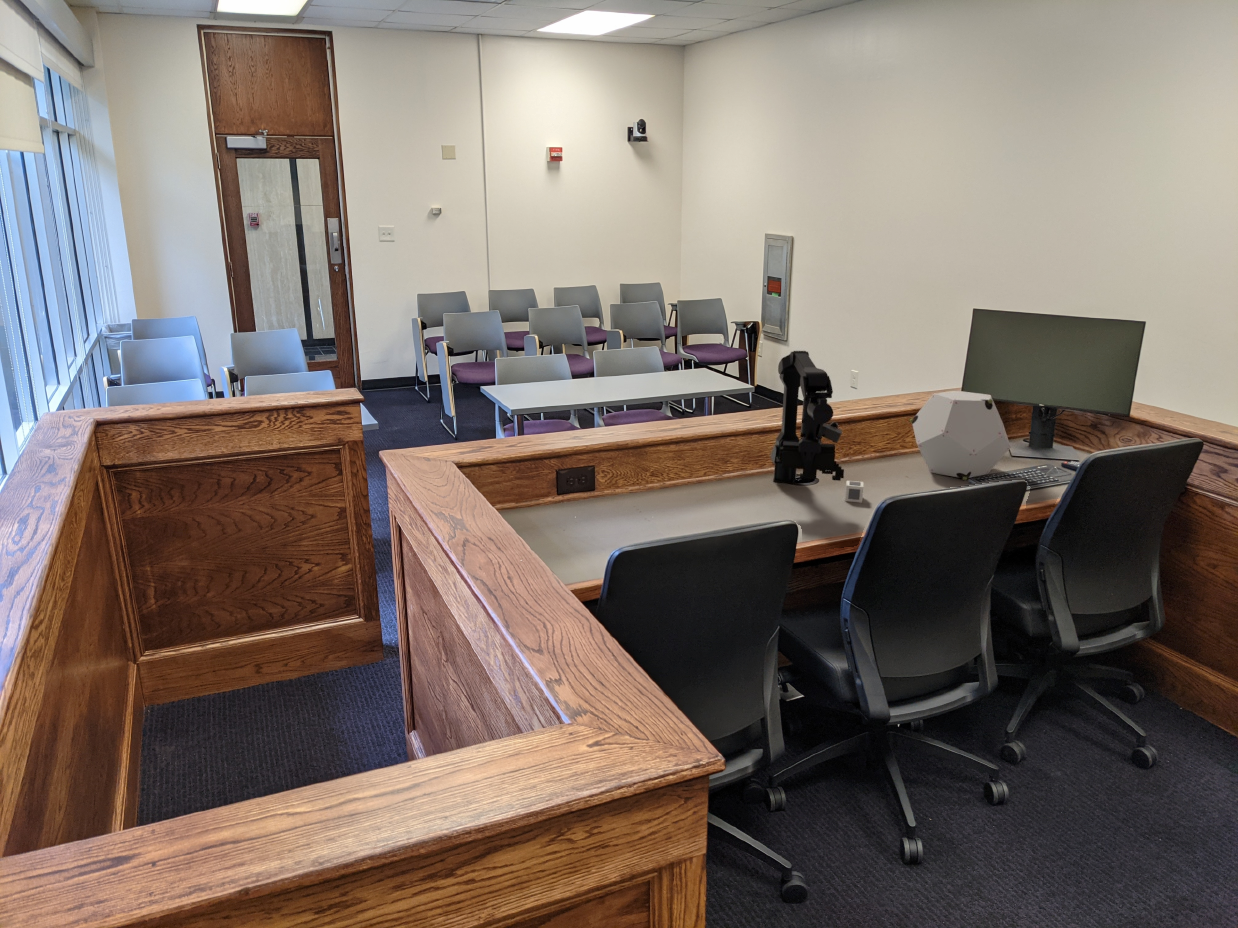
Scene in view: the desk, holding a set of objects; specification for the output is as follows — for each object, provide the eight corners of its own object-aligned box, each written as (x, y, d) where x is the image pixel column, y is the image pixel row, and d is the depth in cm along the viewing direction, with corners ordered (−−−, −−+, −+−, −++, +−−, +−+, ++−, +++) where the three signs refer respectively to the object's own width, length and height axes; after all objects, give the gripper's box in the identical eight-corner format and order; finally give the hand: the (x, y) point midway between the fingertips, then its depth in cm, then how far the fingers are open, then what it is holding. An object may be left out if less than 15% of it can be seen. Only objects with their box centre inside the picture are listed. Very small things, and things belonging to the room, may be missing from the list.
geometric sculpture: (967, 507, 281) (932, 432, 271) (916, 481, 309) (882, 412, 299) (1042, 456, 283) (1010, 379, 272) (984, 435, 311) (953, 364, 301)
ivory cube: (844, 501, 265) (846, 485, 263) (845, 495, 270) (846, 480, 268) (862, 502, 264) (863, 486, 262) (862, 497, 268) (863, 481, 267)
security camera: (843, 483, 251) (846, 449, 248) (778, 479, 254) (780, 446, 251) (842, 476, 257) (845, 443, 254) (778, 472, 260) (780, 439, 257)
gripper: (841, 424, 240) (837, 478, 244) (841, 409, 257) (837, 460, 262) (800, 422, 242) (796, 475, 247) (802, 407, 259) (799, 457, 264)
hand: (808, 467), depth 255 cm, fingers closed on security camera, 7 cm apart
